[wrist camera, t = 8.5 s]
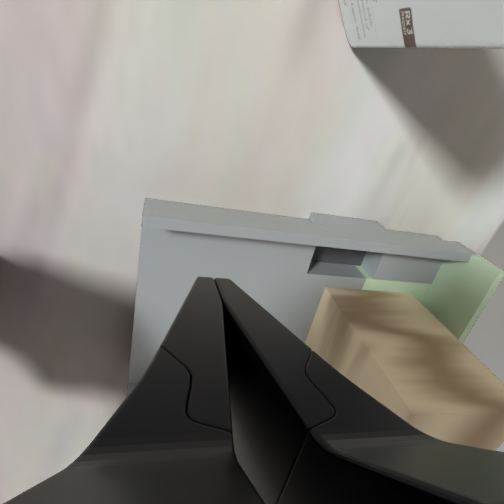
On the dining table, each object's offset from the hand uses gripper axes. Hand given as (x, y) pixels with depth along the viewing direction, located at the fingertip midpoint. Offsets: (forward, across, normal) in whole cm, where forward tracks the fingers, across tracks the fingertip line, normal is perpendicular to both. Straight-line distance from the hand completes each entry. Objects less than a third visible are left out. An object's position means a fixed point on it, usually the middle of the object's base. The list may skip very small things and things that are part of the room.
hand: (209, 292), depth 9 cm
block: (+11, -14, +9) cm, 20 cm away
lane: (+13, -8, +9) cm, 18 cm away
